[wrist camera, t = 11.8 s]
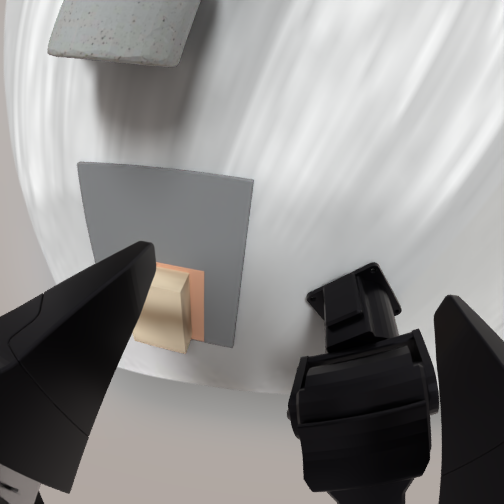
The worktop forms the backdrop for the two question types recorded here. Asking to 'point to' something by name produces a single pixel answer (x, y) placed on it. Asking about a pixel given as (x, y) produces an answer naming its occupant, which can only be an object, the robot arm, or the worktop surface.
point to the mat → (176, 231)
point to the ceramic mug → (123, 30)
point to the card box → (166, 312)
